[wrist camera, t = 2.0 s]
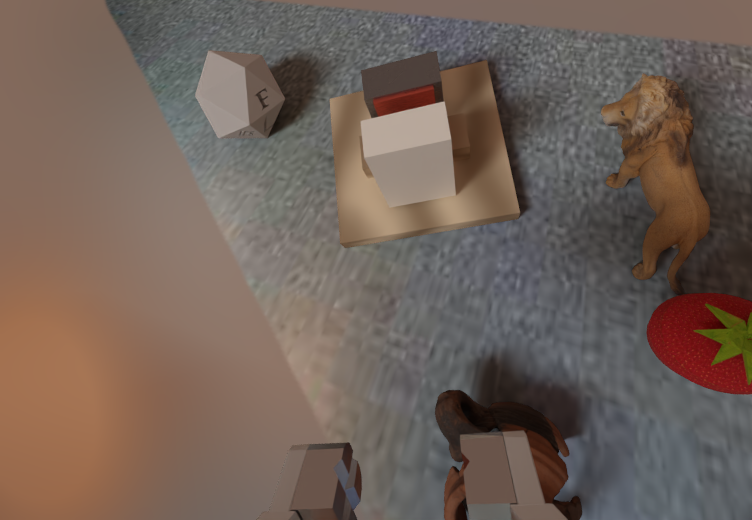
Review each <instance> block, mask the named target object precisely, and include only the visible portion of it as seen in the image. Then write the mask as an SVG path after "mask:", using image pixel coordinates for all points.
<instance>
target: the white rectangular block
mask: <svg viewBox="0 0 752 520" xmlns="http://www.w3.org/2000/svg"><path fill="white" fill-rule="evenodd" d="M361 131H362V142H363V152H364V159H365V161H366V163H367V165H368V166H369V168H370V170H371V172H372V174H373V176H374V178H375V180H376V182H377V184H378V186H379V188H380V190H381V192H382V194H383V196H384V198H385V200H386V202H387V204H388V206H389V208H391V207H396V206H401V205H407V204H412V203H418V202H423V201H428V200H434V199H439V198H445V197H450V196H455V195H456V191H455V179H454V167H453V155H452V142H451V135H450V129H449V124H448V118H447V112H446V106H445V101H444V102H440V103H435V104H431V105H427V106H423V107H418V108H414V109H410V110H405V111H401V112H397V113H393V114H388V115H384V116H380V117H375V118H371V119H367V120H363V121H361Z"/></svg>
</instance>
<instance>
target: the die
mask: <svg viewBox="0 0 752 520" xmlns="http://www.w3.org/2000/svg"><path fill="white" fill-rule="evenodd" d="M195 96H196V98H197V100H198V102H199V104H200V105H201V107H202V109H203V111H204V113H205V115H206V116H207V118H208V120H209V122H210V124H211V126H212V127H213V129H214V131H215V133H216V135H217V137H218V138H268V136H269V133H270V131H271V129H272V127H273V124H274V122H275V120H276V118H277V116H278V114H279V112H280V109H281V107H282V105H283V103H284V101H285V97H284V95H283V94H282V92H281V90H280V88H279V86H278V84H277V82H276V81H275V79H274V77H273V75H272V73H271V71H270V70H269V68H268V66H267V64H266V62H265V60H264V58H263V57H262V55H255V54H244V53H233V52H221V51H210V50H209V51H208V54H207V58H206V61H205V64H204V68H203V71H202V74H201V78H200V81H199V84H198V88H197V91H196V94H195Z"/></svg>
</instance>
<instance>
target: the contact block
mask: <svg viewBox="0 0 752 520" xmlns="http://www.w3.org/2000/svg"><path fill="white" fill-rule="evenodd" d="M361 73H362V83H363V93H364V101H365V103H366V106H367V108H368V111H369V113H370V116H371V118H375V117H380V116H384V115H388V114H393V113H397V112H401V111H405V110H410V109H414V108H418V107H423V106H427V105H431V104H435V103H440V102H444V100H443V90H442V80H441V75H440V69H439V63H438V58H437V52H436V51H434V52H431V53H427V54H423V55H419V56H415V57H411V58H408V59H404V60H400V61H396V62H392V63H388V64H384V65H381V66H377V67H373V68H369V69H365V70H361Z"/></svg>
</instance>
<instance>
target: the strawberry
mask: <svg viewBox="0 0 752 520" xmlns="http://www.w3.org/2000/svg"><path fill="white" fill-rule="evenodd" d="M647 339H648V342H649V345H650V347H651V349H652V350H653V352H654V353H655V355H656V356H657V357H658V358H659V359H660V360H661V362H662V363H663V364H665V365H666V366H667V367H668V368H670V369H671V370H672V371H674V372H676V373H677V374H679V375H681V376H683V377H684V378H686V379H688V380H690V381H692V382H694V383H696V384H698V385H701V386H703V387H705V388H708V389H712V390H715V391H719V392H724V393H730V394H752V302H751V301H748V300H745V299H742V298H740V297H736V296H731V295H727V294H718V293H694V294H684V295H679V296H676V297H673V298H671V299H668V300H666V301H665V302H663V303H662V304H661V305H659V306H658V307H657V309H656V310H655V311H654V312H653V314H652V316H651V319H650V321H649V323H648V325H647Z"/></svg>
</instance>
